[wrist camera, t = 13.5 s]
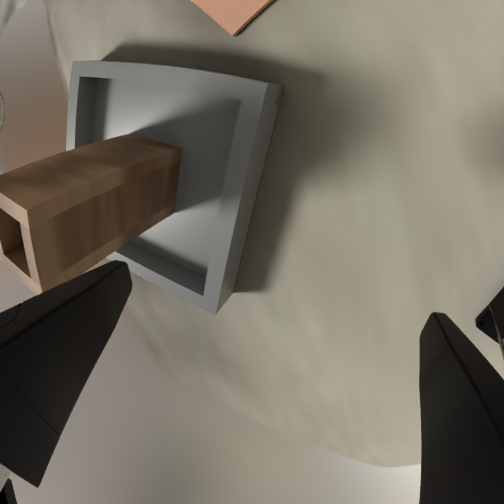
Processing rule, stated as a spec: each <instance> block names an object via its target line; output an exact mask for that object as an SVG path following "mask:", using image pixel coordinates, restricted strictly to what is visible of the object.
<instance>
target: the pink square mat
mask: <svg viewBox="0 0 504 504" xmlns="http://www.w3.org/2000/svg"><path fill="white" fill-rule="evenodd" d="M191 1H192V2H193V3H195V4H196V5H197V6H198V7H200V8H201V9H202V10H203V11H204V12H206V13H207V14H208V15H209V16H210V17H212V18H213V19H214V20H215V21H216V22H217V23H218V24H220V25H221V26H222V27H223V28H224V29H225V30H226V31H228V32H229V33H230V34H231V35H232V36H236V35H237V34H238V33H239V32H240V31H241V30H242V29H243V28H244V27H245V26H246V25H247V24H248V23H249V22H250V21H251V20H252V19H253V18H255V17H256V16H257V15H258V14H259V13H260V12H261V11H262V10H263V9H264V8H265V7H266V6H268V5H269V4H270V3H271V2H272V1H273V0H191Z"/></svg>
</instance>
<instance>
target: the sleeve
mask: <svg viewBox="0 0 504 504" xmlns="http://www.w3.org/2000/svg"><path fill="white" fill-rule="evenodd" d="M182 151H183V148H180V147H176V146H173V145H169V144H166V143H162V142H159V141H155V140H152V139H148V138H144V137H140V136H137V135H133V134H126V135H121V136H118V137H114V138H110V139H106V140H102V141H99V142H95V143H92V144H88V145H85V146H81V147H78V148H75V149H72V150H68V151H65V152H63V153H59V154H56V155H53V156H51V157H47V158H44V159H42V160H39V161H36V162H33V163H30V164H28V165H25V166H22V167H20V168H17V169H15V170H12V171H10V172H7V173H5V174H2V175H0V261H1V262H2V263H3V264H4V265H5V266H6V267H7V268H8V269H9V270H10V271H12V272H13V273H14V274H15V275H16V276H17V277H18V278H19V279H20V280H21V281H22V282H24V283H25V284H26V285H27V286H28V287H29V288H30V289H31V290H33V291H34V292H35V293H36V294H37V295H39V294H41V293H43V292H45V291H47V290H49V289H51V288H53V287H56V286H58V285H60V284H62V283H64V282H66V281H69V280H71V279H73V278H75V277H77V276H80V275H81V274H82V273H84V272H85V271H87V270H88V269H90V268H91V267H92V266H94V265H95V264H97V263H98V262H100V261H101V260H103V259H104V258H106V257H107V256H109V255H110V254H112V253H113V252H115V251H116V250H118V249H119V248H121V247H122V246H124V245H125V244H127V243H128V242H130V241H131V240H133V239H134V238H136V237H137V236H139V235H140V234H142V233H144V232H145V231H147V230H148V229H150V228H151V227H153V226H155V225H156V224H158V223H159V222H161V221H163V220H164V219H166V218H167V217H169V216H171V215H172V214H174V210H175V202H176V194H177V186H178V178H179V171H180V164H181V157H182Z"/></svg>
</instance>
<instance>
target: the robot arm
mask: <svg viewBox="0 0 504 504" xmlns="http://www.w3.org/2000/svg"><path fill="white" fill-rule="evenodd" d="M131 290H132V280H131V275H130V271H129V266H128V264H127V263H126V262H124V261H119V260H113V261H111V262H109V263H106V264H104V265H102V266H100V267H97V268H95V269H93V270H91V271H88V272H86V273H84V274H82V275H80V276H77V277H75V278H73V279H71V280H69V281H66V282H64V283H62V284H60V285H58V286H56V287H53V288H51V289H49V290H47V291H45V292H43V293H41V294H39V295H37V296H34V297H32V298H30V299H28V300H26V301H24V302H23V303H20V304H18V305H16V306H14V307H12V308H10V309H7V310H5V311H3V312H1V313H0V504H17V501H16V498H15V494H14V490H13V486H12V481H11V480H10V479H9V478H8V477H9V475H10V473H11V472H13V473H15V474H16V475H18V476H19V477H21V478H22V479H24V480H26V481H27V482H29V483H30V484H32V485H34V486H35V487H37V488H38V487H39V485H40V483H41V481H42V478H43V476H44V473H45V471H46V468H47V466H48V464H49V461H50V459H51V456H52V454H53V452H54V449H55V447H56V445H57V443H58V440H59V438H60V435H61V434H62V431H63V429H64V427H65V425H66V423H67V421H68V418H69V416H70V414H71V412H72V410H73V408H74V406H75V404H76V402H77V400H78V398H79V395H80V393H81V392H82V390H83V387H84V386H85V384H86V382H87V380H88V378H89V376H90V374H91V372H92V370H93V368H94V366H95V364H96V362H97V360H98V358H99V357H100V355H101V353H102V351H103V349H104V347H105V345H106V344H107V342H108V340H109V338H110V336H111V334H112V332H113V331H114V329H115V327H116V324H117V322H118V320H119V318H120V315H121V313H122V311H123V308H124V306H125V304H126V302H127V299H128V297H129V295H130V293H131ZM480 321H483V322H482V323H480ZM475 323H476V327H477V328H478V329H480V330H481V331H482V332H484V333H485V334H486V335H488V336H489V337H490V338H492V339H493V340H494V341H496V342H497V343H498V344H500V348H501V351H502V355H503V358H504V287H503V289H502V290H501V291H500V292H499V293H498V294H497V295H496V297H495V298H494V299H493V300H492V301H491V302H490V304H489V305H488V306H487V307H486V308H485V309H484V310H483V311H482V312H481V313H480V314H479V315H478V316H477V318H476V320H475ZM419 389H420V407H421V439H422V455H421V486H420V501H419V504H504V380H503V378H502V377H501V376H500V375H499V373H498V372H497V371H496V370H495V369H494V367H493V366H492V365H491V364H490V363H489V362H488V360H487V359H486V358H485V357H484V356H483V355H482V353H481V352H480V351H479V350H478V349H477V348H476V347H475V345H474V344H473V343H472V342H471V341H470V340H469V339H468V338H467V336H466V335H465V334H464V333H463V332H462V331H461V330H460V329H459V328H458V327H457V326H456V324H455V323H454V322H453V321H452V320H451V319H450V318H449V317H448V316H447V315H446V314H445V313H439V312H433V313H431V314H430V316H429V318H428V320H427V322H426V324H425V326H424V328H423V330H422V332H421V334H420V373H419Z"/></svg>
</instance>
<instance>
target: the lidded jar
mask: <svg viewBox="0 0 504 504" xmlns="http://www.w3.org/2000/svg"><path fill="white" fill-rule="evenodd" d="M3 121H4V102H3V98H2V95H1V93H0V130H1V128H2V126H3Z"/></svg>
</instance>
